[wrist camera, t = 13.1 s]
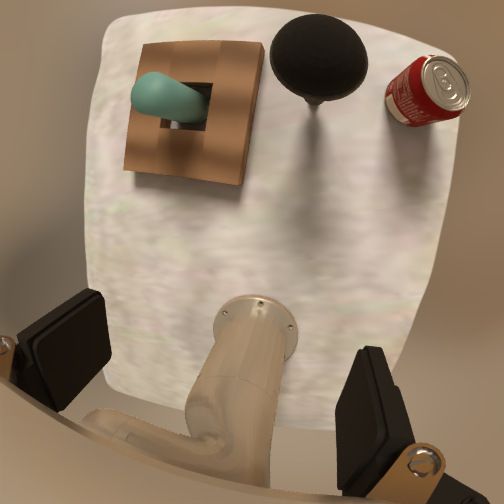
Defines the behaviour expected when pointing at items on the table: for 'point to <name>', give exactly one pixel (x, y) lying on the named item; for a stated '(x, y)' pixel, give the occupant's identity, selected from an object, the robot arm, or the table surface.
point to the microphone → (318, 58)
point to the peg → (168, 99)
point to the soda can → (428, 91)
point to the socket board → (219, 115)
